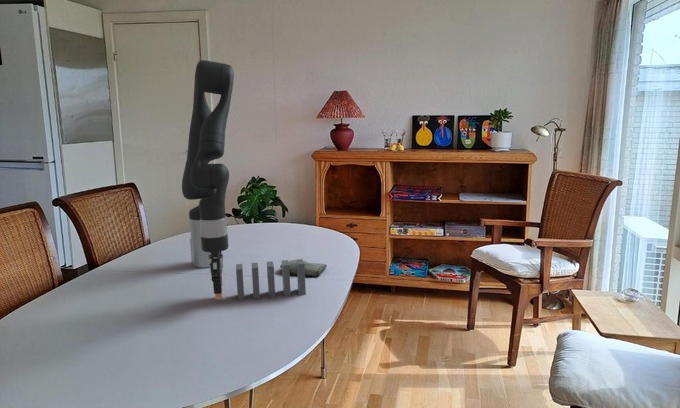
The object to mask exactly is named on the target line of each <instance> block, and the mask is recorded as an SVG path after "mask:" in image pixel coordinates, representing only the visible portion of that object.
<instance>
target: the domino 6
mask: <svg viewBox="0 0 680 408" xmlns="http://www.w3.org/2000/svg"><path fill="white" fill-rule="evenodd" d="M296 260H297V275H296V276H297V279H296V280H297V290H298V295H300V296H304V295H306V294H307V293H306V290H307V289H306V276H305V264H304V261H305V260H304V259H303V258H300V259H299V258H298V259H296Z"/></svg>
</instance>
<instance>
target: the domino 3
mask: <svg viewBox="0 0 680 408" xmlns="http://www.w3.org/2000/svg"><path fill="white" fill-rule="evenodd" d="M250 264H251V277H252V279H251V280H252V292H253V296H252V297H253V300H260V299H261V292H260V279H259V277H260V275H259V265H258V264H259V263H258V262H251V263H250Z"/></svg>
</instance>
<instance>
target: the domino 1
mask: <svg viewBox="0 0 680 408" xmlns="http://www.w3.org/2000/svg"><path fill="white" fill-rule="evenodd" d="M214 277H219V275H218V274H214ZM221 287H222V288H223V279H222V280H221ZM214 295H215V296H214V297H215V298H214V299H215V300H222V299H223V292H222V293H220V294H214Z"/></svg>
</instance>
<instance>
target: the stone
mask: <svg viewBox="0 0 680 408" xmlns="http://www.w3.org/2000/svg"><path fill="white" fill-rule="evenodd" d="M303 261H304V264H305V277H307V276H309V277H316V278H319V277H320V276H321V274H322V273H323V272H324V271H325V269H326V268H327V264H325V263H316V262H315V263H314V262H308V261H306V260H303ZM288 263H289V271H290V274H291V275H295V276H297V259H293V260H288ZM280 269H281V270H282V263H281V264H280Z"/></svg>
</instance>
